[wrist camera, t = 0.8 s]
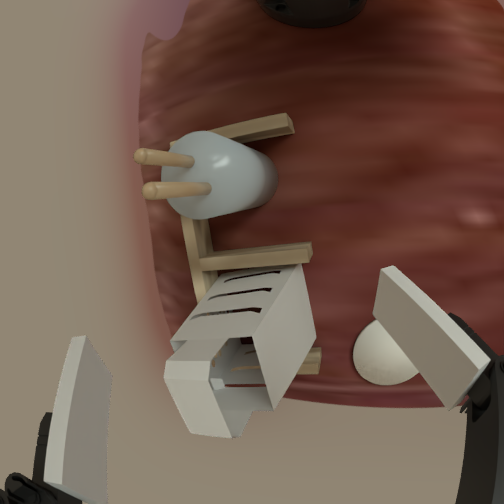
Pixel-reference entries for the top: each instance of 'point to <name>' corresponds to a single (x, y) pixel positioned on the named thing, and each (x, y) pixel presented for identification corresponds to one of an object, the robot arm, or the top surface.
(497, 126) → the top surface
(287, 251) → the rack
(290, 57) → the top surface
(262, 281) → the grater
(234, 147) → the utensil crock
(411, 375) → the plate
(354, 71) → the top surface
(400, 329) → the robot arm
